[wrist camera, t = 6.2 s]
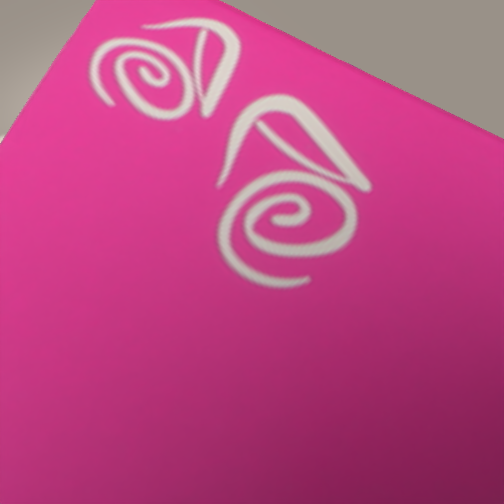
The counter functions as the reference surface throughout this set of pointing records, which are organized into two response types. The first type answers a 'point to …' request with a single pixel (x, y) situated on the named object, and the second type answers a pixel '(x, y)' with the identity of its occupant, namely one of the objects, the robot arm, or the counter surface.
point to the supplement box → (244, 276)
